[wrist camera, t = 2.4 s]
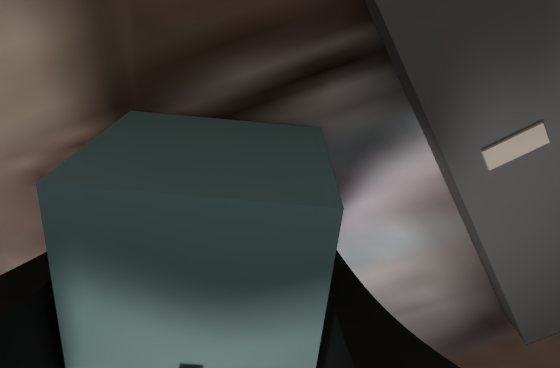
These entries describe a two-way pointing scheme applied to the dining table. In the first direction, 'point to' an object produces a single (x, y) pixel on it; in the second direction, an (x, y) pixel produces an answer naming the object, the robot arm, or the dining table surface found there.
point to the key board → (491, 133)
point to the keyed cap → (192, 244)
